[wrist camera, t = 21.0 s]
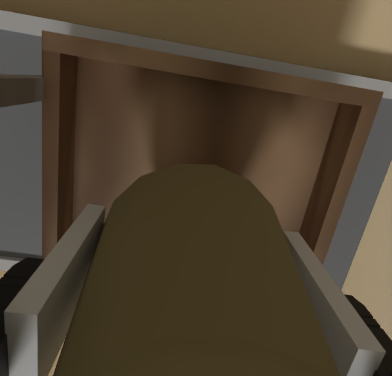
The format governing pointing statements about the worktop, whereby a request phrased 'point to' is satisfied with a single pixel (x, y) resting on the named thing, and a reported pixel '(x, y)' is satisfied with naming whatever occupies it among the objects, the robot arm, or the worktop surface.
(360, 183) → the track
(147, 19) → the worktop surface
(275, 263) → the squeeze bottle
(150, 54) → the cart
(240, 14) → the worktop surface
